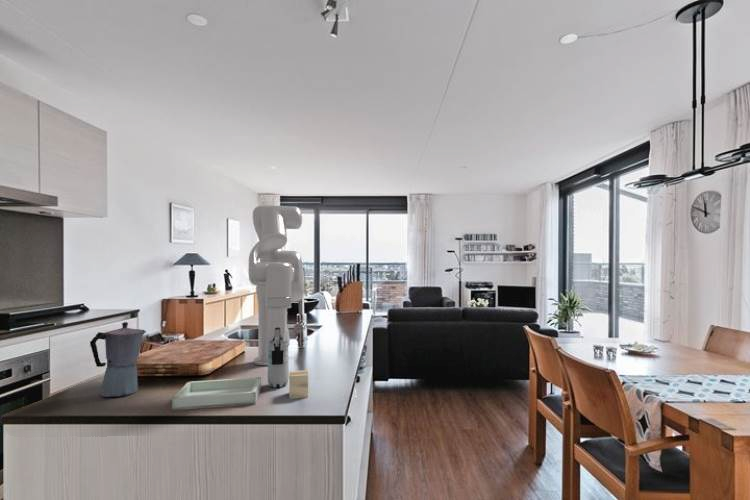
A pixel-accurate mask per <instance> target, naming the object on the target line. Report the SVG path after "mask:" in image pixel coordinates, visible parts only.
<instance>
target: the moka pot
mask: <svg viewBox="0 0 750 500" xmlns="http://www.w3.org/2000/svg"><path fill="white" fill-rule="evenodd" d="M128 325H129V322H127V321H124V322H122V323H121V326H122V327H121V328H117V329H113V330H110V331H109V330H108V331H105V332H100V331H99V332H97V333H96V334H95V336H94V337H93V338H92V339H91V340H90V341H89V346H90V348H91V352H92V356H93V359H94V362H95V365H96V367H97V368H99V367H101V368H102V367H106V368H105V371H104V376H103V380H102V385H101V387H100V392H99V395H100V396H102V397H103V398H113V397H114V398H116V397H117V398H118V397H123V396H128V395H132V394H135V393H137V392H138V390H139V385H138V383H139V382H138V381H139V380H138V369H137V368H138V365H137V362H138V358H139V356H140V351H141V347H142V346H141V345H142V341H143V337H144V335H145V333H147V331H146V329H139V328H137V329H136V328H130V327H128ZM98 340H104V341H105V345H104V346H105V359H106V362H101V360H100V357H99V352H98V347H97V346H98V345H97V344H96V343H97V341H98Z"/></svg>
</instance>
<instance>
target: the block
mask: <svg viewBox="0 0 750 500" xmlns="http://www.w3.org/2000/svg"><path fill="white" fill-rule="evenodd" d="M308 372H309V371H308V370H307V369H305V370H293V371H290V370H289V380H288V383H289V384H288V385H289V389H288V391H289V392H288V394H289V396H288V398H289V399H302V398H309V373H308Z"/></svg>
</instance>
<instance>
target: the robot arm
mask: <svg viewBox="0 0 750 500" xmlns="http://www.w3.org/2000/svg"><path fill="white" fill-rule="evenodd" d="M302 223H303V215H302V212H301V209H300V208H299V207H298V206H296V205H295V206H293V205H291V206H290V205H274V204H273V205H271V204H270V205H267V204H264V205H258V206H255V208H254V209H253V210H252V224H253V227H254V230H255V233H256V236H257V238H258V241H257V243H255V245H254V246H253V247H252V249H251V251H250V252H249V255H248V280H249V282H250V284H252V286H255V287H256V288H255V290H256V291H255V292H256V299H257V310H258V311H257V313H258V318H257V319H258V332H257V333H258V345H257V346H258V350H257V351H258V352H257V353H258V356H257V357H256V358H254V359H253V363H254V364H255V365H258V366H268V345H267V337H268V342H269V343H270V341H272V340H273V351H272V365H281V364H283V350H282V346H283V342H284V341H285V337H286V329H288V327H287V326H288V309H291V308H292V303H293V302H299V301H301V300H302V299H303V297H304V288H305V287H304V274H303V259H302V256H301V254H300V253H299V252H298V251H295V250H283V248H284V247H285V246H286V245H287V242H288V235H287V233H288V232H287V230H298V229H300V228H301V227H302ZM258 260H259V261H258ZM274 336H275V340H274ZM279 339H281V340H279ZM280 346H281V347H280ZM288 361H290V357H289V356H288Z"/></svg>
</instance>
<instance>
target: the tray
mask: <svg viewBox="0 0 750 500" xmlns="http://www.w3.org/2000/svg"><path fill="white" fill-rule="evenodd" d="M261 384H262V377H261V376H258V377H244V378H242V377H241V378H240V377H239V378H226V379H211V380H210V379H209V380H208V379H207V380H196V381H193V380H191V381H187V382H186V383H185V384H184V386H182V387H181V389H180V390H179V391H178V392H177V393H176V394H175V395H173V397H172V399H171V401H172V402H171V411H182V410H183V411H185V410H195V409H207V408H208V409H209V408H223V407H224V408H225V407H234V406H250V405H251V406H252V405H256V404H257V400H258V398H259V394H260V391H261V387H262V385H261Z"/></svg>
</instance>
